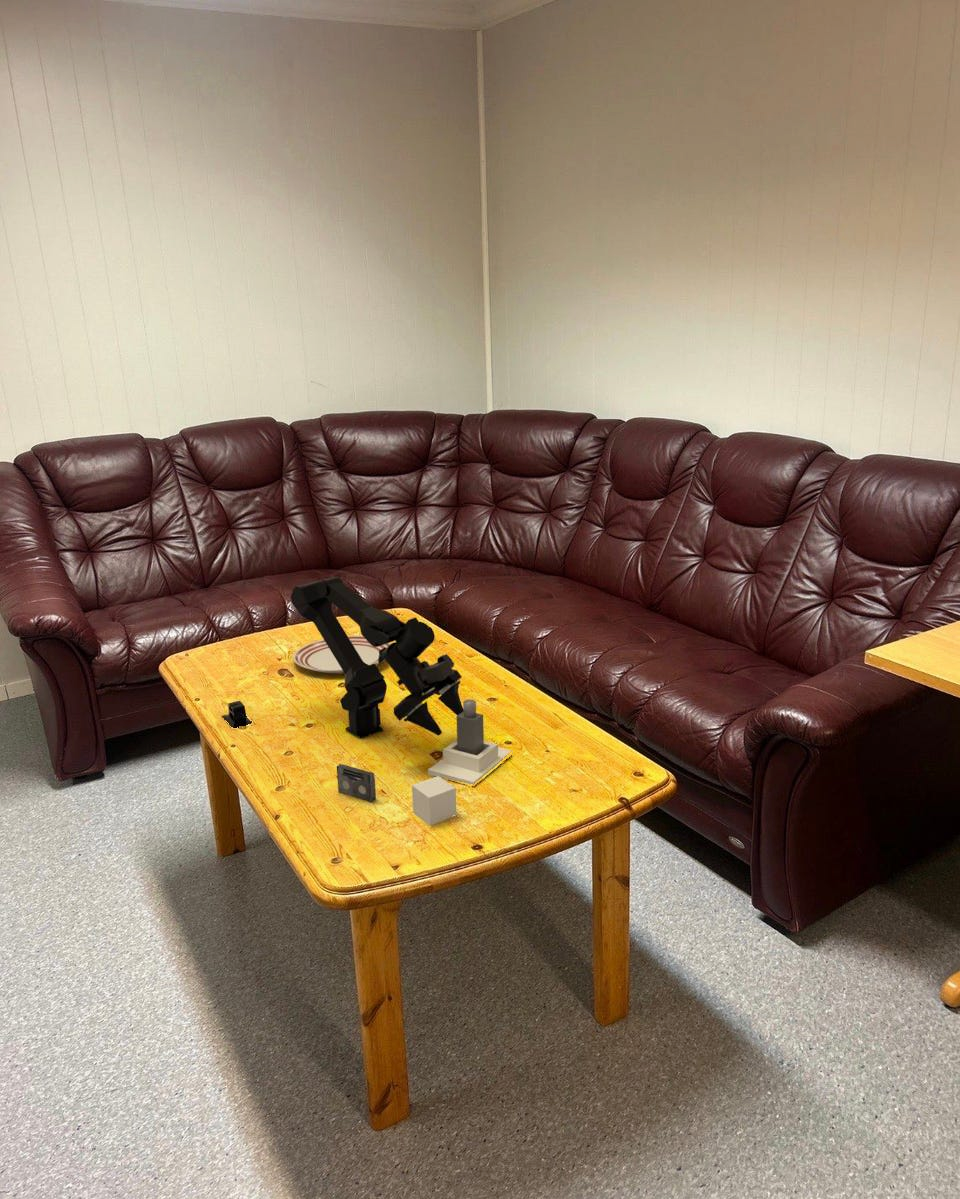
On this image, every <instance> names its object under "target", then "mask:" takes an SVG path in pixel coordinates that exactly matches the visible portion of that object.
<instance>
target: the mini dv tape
mask: <svg viewBox="0 0 960 1199" xmlns="http://www.w3.org/2000/svg"><path fill="white" fill-rule="evenodd" d="M336 774H337V776H336V778H337V788H338V789H337V790H338V791H337V792H338V793H339V794H341V795H344V796H345V795H346V796H349V797H351V798H355V799H358V800H362V801H364V802H368V803H374V801H375V800H377V794H376V792H377V791H376V777H375V776H376V775H375V773H374V772H372V771H368V770H364V769H362V768H361V769H360V768H357V767H355V766H354V767H353V766H350V765H347V764H342V763H339V764H337V765H336Z"/></svg>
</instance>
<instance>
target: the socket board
mask: <svg viewBox="0 0 960 1199" xmlns="http://www.w3.org/2000/svg"><path fill="white" fill-rule="evenodd" d="M509 750H510V751H509ZM511 750H512V749H507V748H503V747H499V744H498V743H494V742H492V741H491V742H490V741H486V740H484V751H482V752H481V753H480V754H478V755H473V754H469V753H465V752H461V751H458V750H457V739H455V740H454V741H453V742H452V743H450V744H449V745H447V746H446V747H444V748H443V749H442V759H440V760H439V761H437V762H436V763H435V764H434V765H432V766H431V767H430V768H428V769H427V775H428V776H430V777H434V776H436V777H437V776H439V777H441V778H445V779H449V780H454V781H459V782H464V783H468V784H473V785H474V784H475V783H476V782H477V781H478V780H480V779H481V778H482V777H483V776H484V775H485V774H487V773H488V772H489V771H490V770H491V769H493V768H494V767H495V766H496V765H497V764H498V763H499V762H500V761H502V760H503V758H505V757H506V756H507V755H508V754H509V753H510V752H511ZM445 779H444V780H445Z"/></svg>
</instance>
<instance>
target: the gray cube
mask: <svg viewBox="0 0 960 1199" xmlns="http://www.w3.org/2000/svg"><path fill="white" fill-rule="evenodd" d="M411 793H412V794H411V795H412V813H413V814H414V815H415V816H417V817H418V818H419V819H420V820H422V821H423V822H424V823H426V824H427V825H429V826H430V827H431V826H434V825H436V823H437V824H438V822H439V823H442V822H444V821H446V820H445V819H447V818H449V819H451V818H450V817H452V816H453V815H456V814H457V813H458V812H457V787H455V786H453V785H452V784H450V783H449V782H448V781H447V780H445V779H442V778H440V777H439V776H437V777H434V776H433V777H431V778H429V779H425V780H424V781H423V780H422V781H420V782H417V783H415V784H412V785H411ZM452 818H453V817H452ZM443 820H444V821H443ZM447 820H448V819H447ZM441 821H442V822H441Z"/></svg>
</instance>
